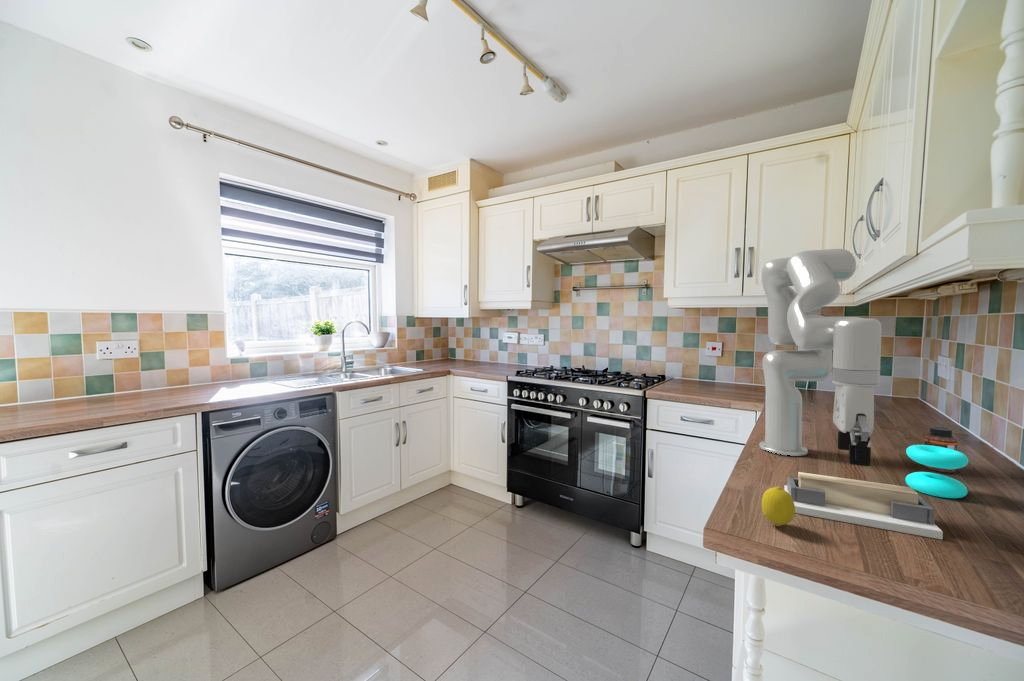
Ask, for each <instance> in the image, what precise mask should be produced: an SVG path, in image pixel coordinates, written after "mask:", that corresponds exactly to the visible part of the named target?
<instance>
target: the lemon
mask: <svg viewBox="0 0 1024 681" xmlns="http://www.w3.org/2000/svg"><path fill="white" fill-rule="evenodd" d="M761 510H762V513H763V515H764V517H765V518H766V520H768V521H769V522H772V523H773V524H774V525H775V526H776V527H781V526H782V525H787V524H789V523H791V522H793V520H794V517H795V514H796V513H795V505H794V502H793V499H792V497H791V495H790V494H789V493H788V492H786V491H785V490H784V489H783V488H781V486H774V487H770V488H768V489H767V490H765V491H764V492H763V494H762V498H761Z"/></svg>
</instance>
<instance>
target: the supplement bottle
mask: <svg viewBox="0 0 1024 681" xmlns="http://www.w3.org/2000/svg"><path fill="white" fill-rule="evenodd" d="M924 445H931V446H938V447H944V448H949V449H953V450H956V451H958V440H957V439H956V438H955V437H954V435H953V429H952V428H948V427H943V426H930V427H929V433H927V434H925V436H924ZM923 466H924V467H925V468H926V469H928V470H932V471H935V472H940V473H945V472H946V473H945V474H947V473H948V474H953V473H956V471H957V469H943V468H936V467H931V466H927V465H923Z"/></svg>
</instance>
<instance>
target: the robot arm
mask: <svg viewBox="0 0 1024 681" xmlns="http://www.w3.org/2000/svg"><path fill="white" fill-rule="evenodd" d="M856 269H857V261H856V258H855V256H854V254H853V252H851V251H849V250H847V249H845V248H830V249H828V248H827V249H811V250H805V251H800V252H797V253H795V254H793V255H792V256H791V257H781V258H775V259H772V260H768V261H766V263H765V264H764V265H763V266H762V270H761V284H762V287H763V291H764V293H765V297H766V299H767V315H768V316H767V332H768V333H767V334H768V340H769V341H770V343H771V344H772V345H776V346H786V347H788V346H790V347H795V346H796V347H798V348H801V349H802V350H796V349H780V350H779V349H777V350H771V351H769V352H767V353H766V354H764V356H763V357H762V362H761V363H762V370H763V377H764V385H765V386H764V387H765V398H764V399H765V408H764V409H765V415H764V416H765V421H764V422H765V424H764V425H765V428H764V430H765V431H764V432H765V433H764V440H763V441H760V442H759V449H761V450H763V451H765V450H766V451H765V452H768V451H769V453H771V452H772V454H775V453H777V454H776V455H780V454H781V455H780V456H787V455H790V456H791V457H804V456H806V455H807V454H809V450H808V448H807V447H806V446H803V445H802V442H803V441H802V440H803V439H802V438H803V436H802V435H803V434H802V432H803V429H802V428H803V395H802V393H801V391H800V390H799V389H798V388H797V387H796V386H795V384H794V383H793V382H824V381H827V380H828V379H829V378H830V376H832V377H831V383H832V384H835V391H834V398H833V399H834V400H833V401H834V403H833V411H832V412H833V414H832V415H833V416H832V421H833V424H834V425H835V426H836V427H837V429H838V431H837V449H839V450H840V451H841V450H843V451H848V463H849V464H850V465H853V466H854V465H855V466H862V467H870V466H871V455H872V454H871V449H872V446H871V445H872V444H871V441H872V440H871V437H870V435H872V434H873V432H874V423H875V396H874V388H878V387H881V386H880V384H881V383H880V382H881V354H882V332H883V331H882V323H881V322H880V320H878V319H876V318H869V317H868V318H863V317H858V316H825V315H820V314H807V313H809V312H813V311H815V310H816V311H817V310H818V309H821V308H823V307H826V306H827V305H830V304H831V303H833V302H834V301H835V300H837V298H838V297H839V295H840V293H841V285H840V283H841V282H845V281H848V280H849V279H851V278H852V277H853V275H854V274H855V272H856ZM792 287H793V288H794V289H793V288H792ZM831 374H832V375H831ZM790 456H789V457H790Z"/></svg>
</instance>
